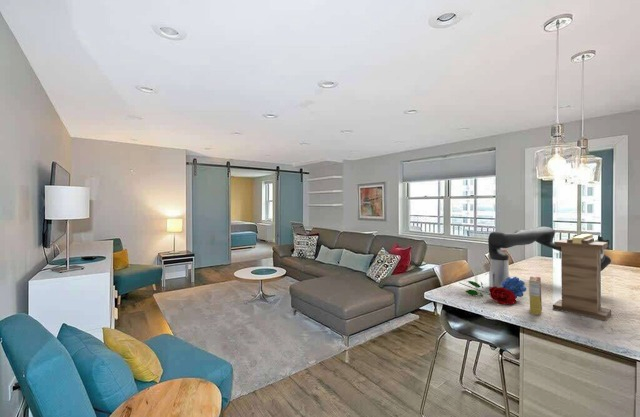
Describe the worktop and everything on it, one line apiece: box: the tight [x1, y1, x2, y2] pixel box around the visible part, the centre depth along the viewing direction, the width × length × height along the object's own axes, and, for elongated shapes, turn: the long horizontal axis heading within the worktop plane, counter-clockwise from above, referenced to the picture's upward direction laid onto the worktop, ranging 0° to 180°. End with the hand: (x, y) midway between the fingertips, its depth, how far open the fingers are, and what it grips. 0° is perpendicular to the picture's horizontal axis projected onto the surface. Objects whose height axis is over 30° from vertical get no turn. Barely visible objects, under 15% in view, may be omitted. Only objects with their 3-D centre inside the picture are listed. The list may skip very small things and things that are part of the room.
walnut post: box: [552, 237, 612, 321], centre depth 131 cm, size 14×18×34 cm
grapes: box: [501, 276, 527, 299], centre depth 150 cm, size 12×7×12 cm, turn 38°
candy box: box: [528, 276, 543, 316], centre depth 132 cm, size 9×4×15 cm, turn 140°
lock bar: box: [572, 233, 594, 244], centre depth 134 cm, size 24×3×2 cm, turn 128°
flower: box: [459, 280, 517, 306], centre depth 152 cm, size 9×10×30 cm
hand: (586, 236), depth 139 cm, fingers open, 8 cm apart
